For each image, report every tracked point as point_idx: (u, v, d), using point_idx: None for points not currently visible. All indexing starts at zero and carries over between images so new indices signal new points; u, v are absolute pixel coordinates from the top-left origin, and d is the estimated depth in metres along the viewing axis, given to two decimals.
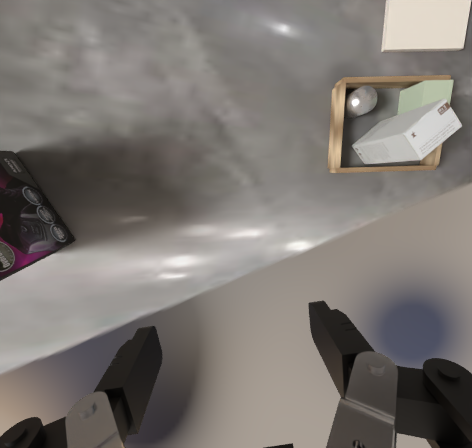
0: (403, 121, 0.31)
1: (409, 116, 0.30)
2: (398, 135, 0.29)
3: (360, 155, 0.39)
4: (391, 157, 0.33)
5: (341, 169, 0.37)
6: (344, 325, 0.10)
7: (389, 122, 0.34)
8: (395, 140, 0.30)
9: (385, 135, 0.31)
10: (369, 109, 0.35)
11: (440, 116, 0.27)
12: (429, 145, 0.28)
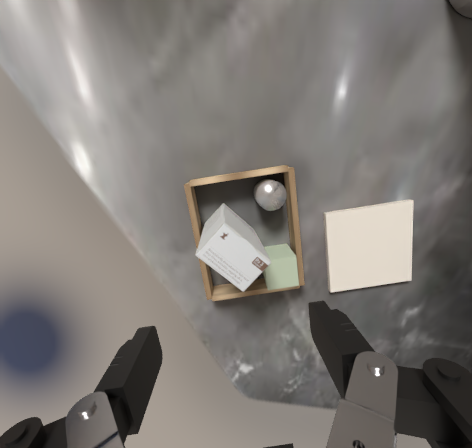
0: (246, 232, 0.25)
1: (252, 238, 0.25)
2: (222, 221, 0.22)
3: None
4: (204, 234, 0.26)
5: (188, 188, 0.29)
6: (344, 325, 0.10)
7: (249, 229, 0.29)
8: (219, 223, 0.23)
9: (227, 216, 0.24)
10: (261, 204, 0.29)
11: (250, 262, 0.22)
12: (214, 259, 0.22)
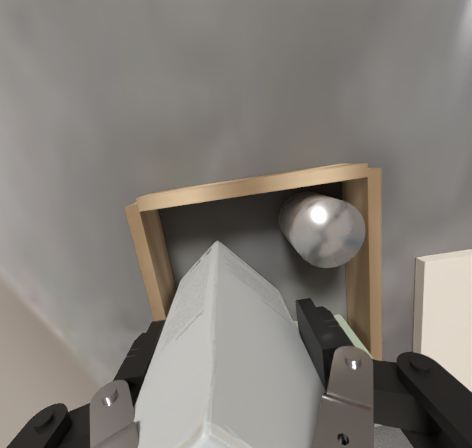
0: (280, 362, 0.08)
1: (298, 380, 0.08)
2: (203, 390, 0.05)
3: (195, 264, 0.16)
4: (160, 353, 0.09)
5: (136, 216, 0.13)
6: (328, 321, 0.11)
7: (275, 313, 0.12)
8: (193, 372, 0.06)
9: (223, 318, 0.08)
10: (305, 253, 0.12)
11: None
12: None
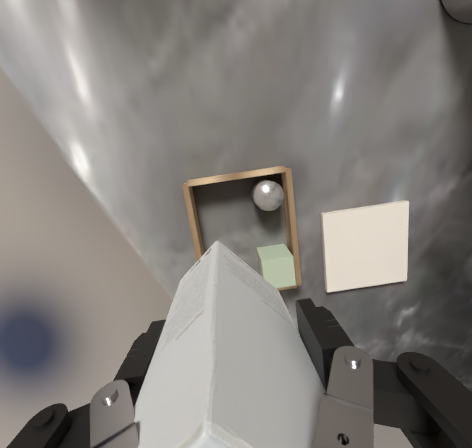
0: (280, 362, 0.08)
1: (298, 380, 0.08)
2: (204, 389, 0.05)
3: (195, 264, 0.16)
4: (160, 353, 0.09)
5: (186, 188, 0.29)
6: (328, 321, 0.11)
7: (275, 313, 0.12)
8: (193, 372, 0.06)
9: (223, 318, 0.08)
10: (258, 204, 0.29)
11: None
12: None
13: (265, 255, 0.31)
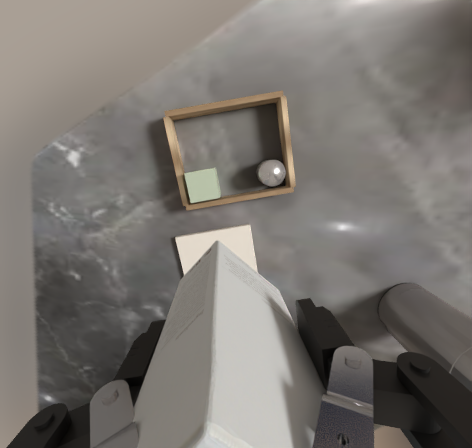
0: (280, 362, 0.08)
1: (299, 380, 0.08)
2: (204, 390, 0.05)
3: (195, 264, 0.16)
4: (160, 352, 0.09)
5: (278, 95, 0.31)
6: (328, 321, 0.11)
7: (276, 312, 0.12)
8: (193, 372, 0.06)
9: (223, 318, 0.08)
10: (265, 164, 0.32)
11: None
12: None
13: (215, 173, 0.33)
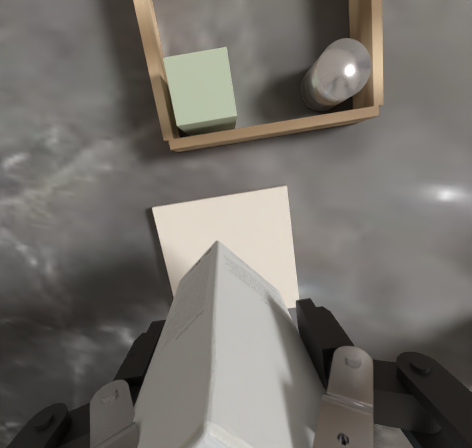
0: (280, 362, 0.08)
1: (298, 380, 0.08)
2: (203, 389, 0.05)
3: (195, 264, 0.16)
4: (160, 352, 0.09)
5: None
6: (328, 321, 0.11)
7: (275, 313, 0.12)
8: (193, 371, 0.06)
9: (223, 318, 0.08)
10: (331, 48, 0.16)
11: None
12: None
13: None
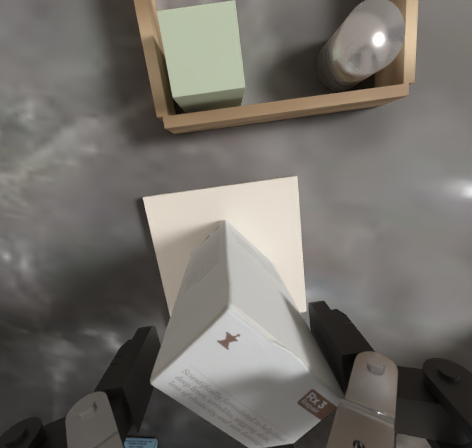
0: (274, 299, 0.11)
1: (287, 312, 0.11)
2: (225, 293, 0.08)
3: (205, 239, 0.18)
4: (183, 294, 0.12)
5: None
6: (344, 325, 0.10)
7: (271, 275, 0.15)
8: (215, 290, 0.09)
9: (234, 264, 0.11)
10: (359, 9, 0.13)
11: (293, 402, 0.08)
12: (200, 395, 0.08)
13: None
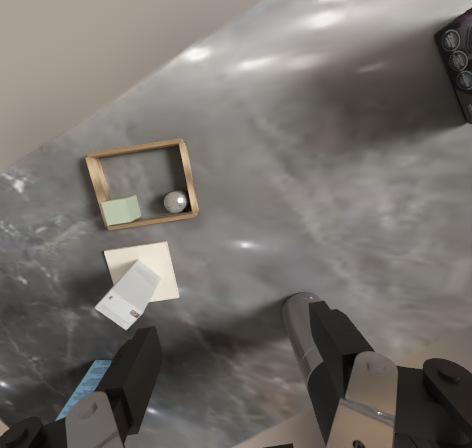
0: (135, 290, 0.39)
1: (139, 293, 0.39)
2: (112, 287, 0.36)
3: None
4: None
5: (177, 142, 0.39)
6: (344, 325, 0.10)
7: (147, 282, 0.43)
8: (113, 287, 0.36)
9: (122, 279, 0.38)
10: (168, 195, 0.41)
11: (128, 313, 0.36)
12: (106, 311, 0.35)
13: (129, 201, 0.41)
